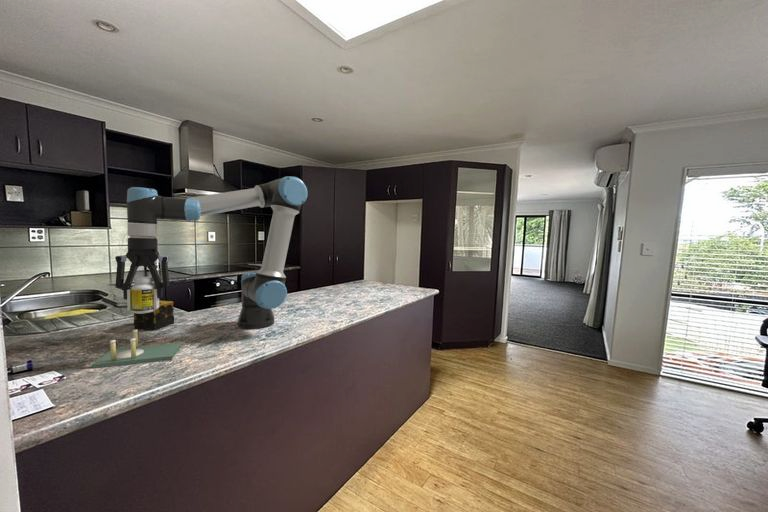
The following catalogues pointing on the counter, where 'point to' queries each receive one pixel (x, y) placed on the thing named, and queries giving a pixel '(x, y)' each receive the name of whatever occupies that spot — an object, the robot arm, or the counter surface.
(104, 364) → the header board
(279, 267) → the robot arm
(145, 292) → the pill bottle
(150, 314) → the yellow-topped dark cube
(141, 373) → the counter surface
